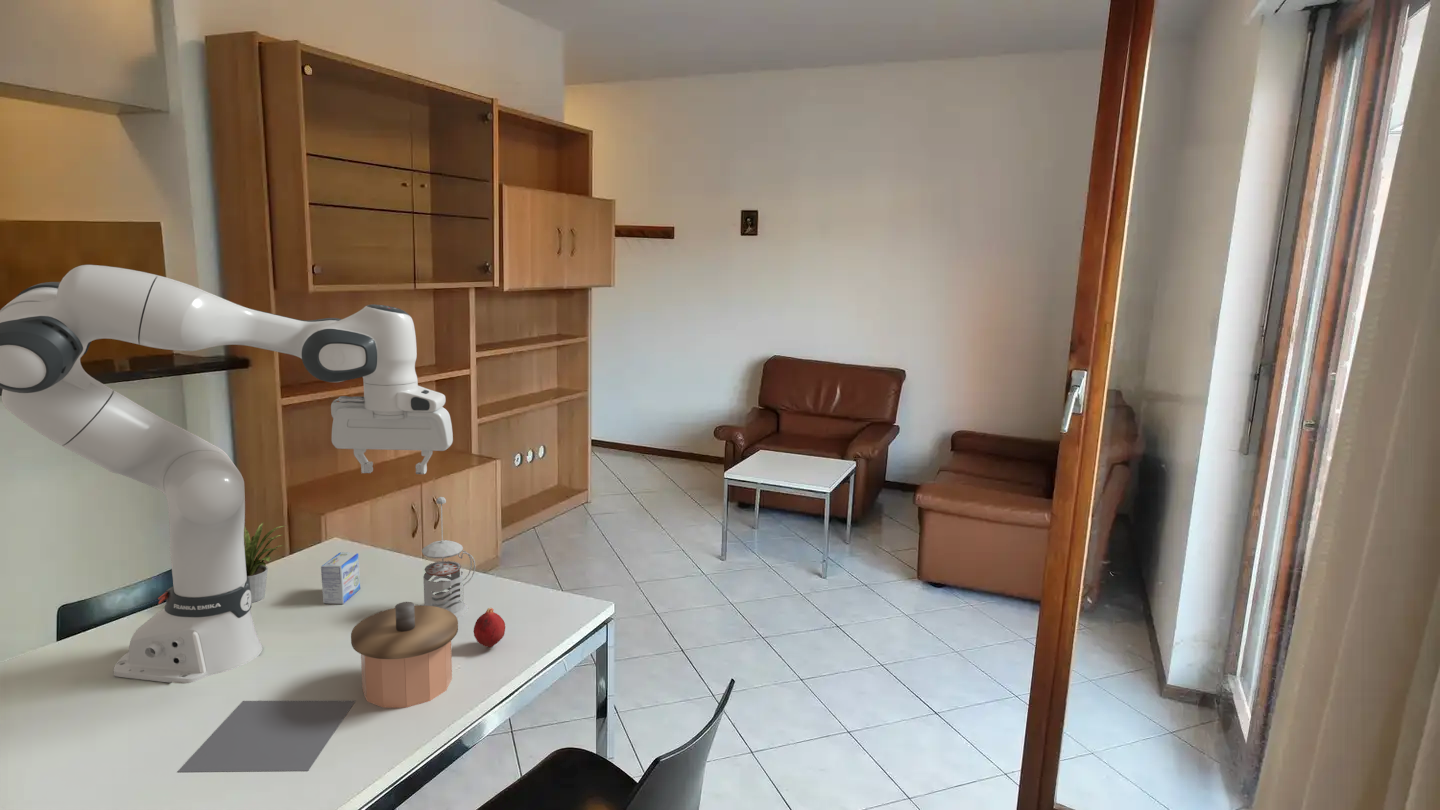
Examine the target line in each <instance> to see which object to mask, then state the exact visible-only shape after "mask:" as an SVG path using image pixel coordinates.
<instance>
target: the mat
mask: <svg viewBox="0 0 1440 810" xmlns="http://www.w3.org/2000/svg"><path fill="white" fill-rule="evenodd" d="M355 702H356V700H242V701H241V702H240V703H239V705H238V706H236V707H235V709H234V710H232V712H230V714H229V715H228V716H227V717H226V718H225V720H223V722H222V723H221V724H220V725H219V726H218V727H217V728H216V730H214V731H213V732H212V734H210V736H209V737H208V738H207V739H206V740H205V741H204V742H203V743H202V745H200V747H199V748H198V749H197V750H196V751H195V752H194V753H193V754H192V755H191V756H190V757H189V758H188V759H187V761H186V762H184V763H183V765H182V766H181V767H180V768H179V769H178V770H177V772H176V773H234V772H235V773H238V772H239V773H244V772H245V773H246V772H249V773H250V772H251V773H252V772H253V773H254V772H267V773H268V772H308V771H310V769H311V767H312V766H313V765H314V763H315V762H316V760H317V759H318V758H319V755H320V754H321V752H322V751H323V750H324V748H325V747H326V746H327V744H328V743H329V741H330V740H331V738H332V736H333V735H334V733H335V732H336V731H337V730H338V728H339V726H340V725H341V723H342V722H343V720H344V718H345V717H347V715H348V713H349V711H350V710H351V709H352V707H353V705H354V704H355Z"/></svg>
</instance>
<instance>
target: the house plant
mask: <svg viewBox="0 0 1440 810" xmlns="http://www.w3.org/2000/svg"><path fill="white" fill-rule="evenodd" d="M263 526H264V522H261V523H260V524H259V526H258V527H257V529H256V531H255V533H254V535H252V536H250V533H249V531H248V530H247V528H246V526H244V547H245V561H246V574H247V576H248V577H249V580H250V588H251V604H252V603H256V602H259V601H261V600H264V598H265V596H266V589H267V579H268V578H267V577H268V569H269V567H268V566H267V565H266V562H264V561H267V562H268V563H270V561H271V559H272V558H271V556H270V555H271V554H272V553H273V552H274V551H277V552H279V550H278V548H279V547H282V546H284V544H281V545H278V546H275V547H274V548H272V547H270V548H267V547H268V546H269V544H270V543H271V542H272V541H273V540H276V539H277V537H280V536H282V534H279V535H275V536H273V537H269V536H270V535H272V533H274V532H275V531H276V530H278V529H280V528H283V527H286V526H287V525H280V526H277V527H275V528H272V529H270V530H269V531H268V532H267V533H266V534H265V535H264V536H263V538H262V539H261V541H260V542H259V540H260V537H261V535H262V531H263ZM267 540H268V541H267ZM265 541H267V542H266V544H265V545H264V547H263V549H262V551H259V550H260V549H261V547H262V546H263V544H264V543H265ZM258 543H259V544H258ZM258 552H259V553H258ZM267 552H268V553H267ZM265 553H267V554H266V555H265V556H264V557H263V558H261V557H262V556H263V555H264V554H265ZM260 558H261V559H260Z"/></svg>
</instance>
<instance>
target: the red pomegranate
mask: <svg viewBox="0 0 1440 810" xmlns="http://www.w3.org/2000/svg"><path fill="white" fill-rule="evenodd" d="M505 632H506V623H505V621H504V619H503V618H502V616H501V615H499V614H498V613H496V612H494V608H492V607H488V608H487V609H486V611H485V612H484V613H483V614H481V615H480V616H479V617H478V618H477V619H476V621H475V624H474V627H473V636H474V638H475V640H476V641H477V643H479V644H480V645H481V646H484V647H487V648H488V649H489V648H493V647H494V646H495V645H496V644H498V643H499V642H501V640H502V639H503V638H504V636H505Z"/></svg>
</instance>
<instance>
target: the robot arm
mask: <svg viewBox="0 0 1440 810" xmlns="http://www.w3.org/2000/svg"><path fill="white" fill-rule="evenodd" d="M102 339H108V340H109V339H110V340H111V339H112V340H117V341H121V342H126V343H130V344H131V343H132V344H136V345H139V346H144V347H148V348H154V349H160V350H161V349H162V350H170V351H182V352H184V351H185V352H195V351H201V350H204V349H208V348H209V349H210V348H213V347H221V346H231V345H232V346H233V345H235V346H236V345H237V346H246V347H247V346H248V347H253V348H258V349H263V350H268V351H272V352H277V353H282V354H287V355H290V356H295V357H297V358H300V359H301V360H302V364H303V366H304V368H305V369H306V371H307V372H308V373H309V374H310V375H312V376H313V377H314V378H315V379H318V380H320V381H323V382H327V383H340V382H342V383H343V382H345V381H349V380H355V379H359V378H362V379H363V381H362V382H363V396H347V395H342V396H339V397H338V398H336V399H334V400H333V401H332V402H331V405H330V412H331V413H330V414H331V417H332V419H333V421H332V426H331V443H332V445H333V446H334V447H335V449H338V450H339V449H341V450H343V449H345V450H353V456H354V457H355V458H356V460H357V462H359V464H360V473H361V474H371V473H373V471H374V467H373V466H374V462H373V461H369V460H368V458H367V457H366V455H365V453H366V452H367V450H388V451H394V450H395V451H421V456H422V457H423V459H422V460H421V462H418V463H416V464H415V474H416V475H425V474H427V471H428V466H427V464H428V463H429V460H430V459H431V457H432V456H433V452H434V451H437V452H444V451H446V450H447V449H449V448H450V447H451V446H452V445H453V442H454V437H453V436H454V434H453V424H452V419H451V415H450V413H449V411H448V410H447V409H446V408H444V406H445V405H446V402H447V401H446V395H445V394H443V393H442V392H439V391H436V390H432V389H429V388H426V387H423V386H421V385H419V384H418V383H419V381H418V375H417V372H416V361H417V358H418V357H417V356H418V354H417V352H418V351H417V350H418V349H417V337H416V329H415V324H414V320H413V318H412V316H411V315H410V314H409V313H408V312H406V311H405V310H403V309H401V308H398V307H395V306H390V305H384V304H374V303H373V304H367V305H365V306H364V307H363V308H361V309H360V310H358V311H357V312H355V313H353V314H351V315H348V316H346V317H344V318H339V317H326V318H318V319H317V318H316V319H312V320H311V319H310V320H305V319H304V320H302V319H299V318H298V319H296V318H292V317H288V316H283V315H280V314H274V313H272V312H271V313H270V312H268V311H267V312H265V311H261V310H257V309H253V308H248V307H245V306H243V305H241V304H238V303H235V302H233V301H230V300H228V299H225V298H223V297H221V296H218V295H215V294H213V293H212V292H208V291H206V290H204V289H201V288H199V287H197V286H194V285H192V284H189V283H186V282H182V281H179V280H176V279H172V278H170V277H166V276H162V275H158V274H154V273H149V272H146V271H140V270H135V269H129V268H123V267H118V266H108V265H97V264H82V265H78V266H76V267H74V268H72V269H70V270H69V271H68V272H67V273H66V274H65V275H63V277H62V279H61V281H49V282H48V281H47V282H41V283H37V284H34V285H32V286H30V287H27V288H25V289H23V290H22V291H21V292H19V293H18V294H17V295H16V296H15V297H14V298H13V299H12V300H11V301H9V302H8V303H7V304H6V305H4V306H3V307H2V308H0V389H2V391H1V402H2V404H3V406H4V407H5V409H6V410H7V411H8V412H10V413H11V414H12V415H14V416H15V417H16V418H17V419H19V420H20V421H21V422H23V423H24V424H25V425H27V426H28V427H30V428H31V429H32V430H34V431H35V432H37V433H38V434H40V435H42V436H44V437H45V438H46V439H48V440H50V441H52V442H54V443H56V444H57V445H59V446H61V447H62V448H65V449H67V450H68V451H70V452H72V453H73V454H74V453H75V454H76V455H77V456H80V457H82V458H84V459H86V460H88V461H89V462H92V463H94V464H95V465H96V466H97V465H98V466H99V467H100V468H103V469H105V470H107V471H109V472H110V473H113V474H118V475H120V476H123V477H126V478H129V479H131V480H134V481H136V482H139V483H142V484H144V485H146V486H149V487H152V488H154V489H155V490H158V491H159V492H161V493H163V495H164V496H166V497H165V498H166V501H167V509H168V511H167V514H168V526H169V528H168V529H169V553H170V554H169V555H170V564H171V574H172V575H171V576H172V583H173V584H172V585H173V586H170V587H169V588H168V589H167V590H165V591H164V593H163V594H162V595H160V596H159V597H158V598H157V599H158V600H159V601H158V604H162V603H164V601H165V602H166V603H165V606H164V607H163V609H161V610H160V611H159V612H157V613H156V614H155V615H153V616H152V617H151V618H149V619H148V620H147V621H145V622H144V623H143V624H142V625H140V627H138V628H137V629H136V630H135V631H134V632H133V634H132V636H131V638H130V641H129V647H128V651H127V652H126V653H125V654H124V655H123V656H121V657H120V658H119V659H118V661H117V662H116V663H115V664H114V667H113V676H114V677H117V678H119V677H120V678H127V679H135V680H142V681H154V682H163V683H170V684H172V683H183V684H190V683H196V682H197V681H200V680H202V679H205V678H207V677H209V676H212V675H216V674H221V673H224V672H227V671H231V670H234V669H237V668H239V667H242V666H243V665H246V664H248V663H250V662H251V661H252V660H254V659H256V658H257V657H259V655H260V654H262V651H263V644H262V642H261V639H260V637H259V635H258V633H257V630H256V626H255V623H254V619H253V618H254V617H253V614H252V603H251V588H250V580H249V577H248V576H247V574H246V561H245V547H246V546H245V547H244V543H245V539H244V535H245V532H244V527H245V525H246V524H245V523H246V521H245V519H246V515H245V514H246V501H245V500H246V498H245V495H246V494H245V492H246V491H245V488H246V487H245V481H244V480H245V479H244V478H243V476H242V475H243V474H242V473H241V471H240V470H239V469H238V467H237V466H236V465H235V464H234V462H233V461H232V459H231V458H230V456H229V455H228V453H226V451H224V450H223V449H222V448H220V447H219V446H217V445H215V444H213V443H211V442H209V441H207V440H205V439H204V438H202V437H200V436H198V435H197V434H195V433H192V432H190V431H189V430H187V429H184V428H183V427H181V426H178V425H177V424H175V423H173V422H171V421H169V420H166V419H165V418H162V417H161V416H159V415H157V414H156V413H154V412H152V411H150V410H149V409H147V408H146V407H143V406H142V405H140V404H138V403H137V402H136V401H134V400H131V399H130V398H129V397H126V396H125V395H123V394H121V393H120V392H118V391H116V390H114V389H113V388H111V387H109V386H108V385H106V384H104V383H102V382H101V381H99V380H97V379H95V377H92V376H91V375H90V374H88V373H87V372H86V371H85V369H84V368H83V366H82V363H81V358H82V357H83V356H84V355H86V354H87V352H88V350H89V347H90V346H91V343H92V341H95V340H102Z"/></svg>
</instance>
